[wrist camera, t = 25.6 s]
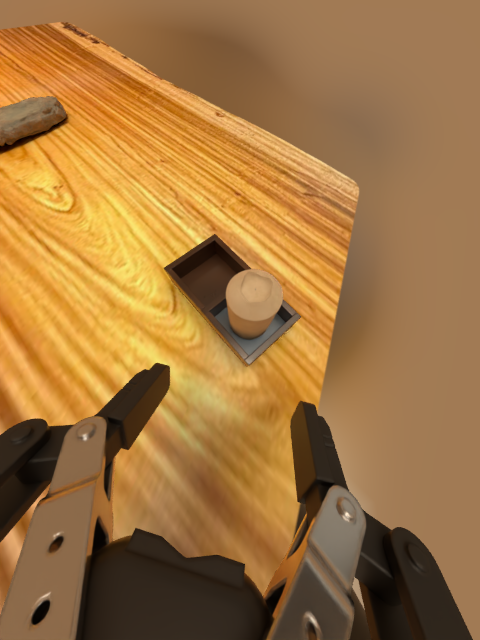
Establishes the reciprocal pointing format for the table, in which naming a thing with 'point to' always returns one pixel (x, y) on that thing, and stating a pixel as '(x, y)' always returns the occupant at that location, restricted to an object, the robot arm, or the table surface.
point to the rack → (223, 295)
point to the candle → (252, 302)
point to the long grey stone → (29, 118)
